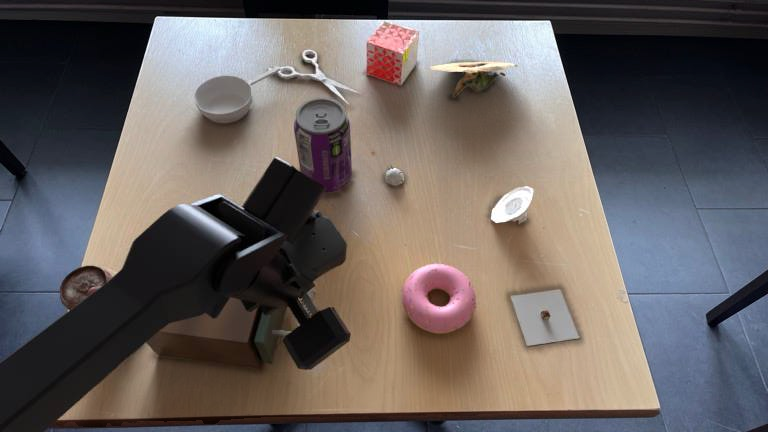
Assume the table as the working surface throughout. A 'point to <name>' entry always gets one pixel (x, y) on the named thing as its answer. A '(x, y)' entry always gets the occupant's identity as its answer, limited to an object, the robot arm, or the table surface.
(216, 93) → the saucepan
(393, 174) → the white rounded lump
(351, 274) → the table surface
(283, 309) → the drawer
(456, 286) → the doughnut
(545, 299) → the grey square plate
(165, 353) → the cabinet
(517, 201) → the white footed dish
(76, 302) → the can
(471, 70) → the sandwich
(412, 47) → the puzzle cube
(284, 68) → the scissors
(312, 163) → the beverage can
